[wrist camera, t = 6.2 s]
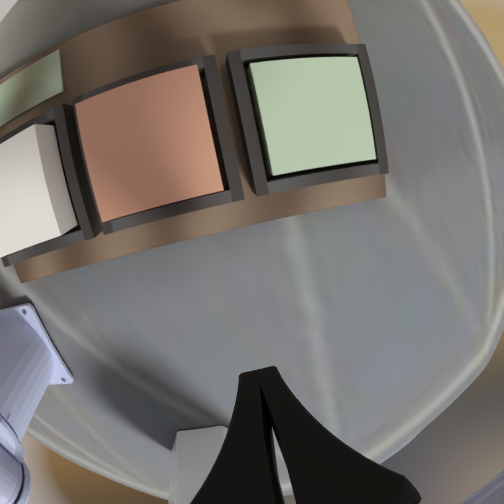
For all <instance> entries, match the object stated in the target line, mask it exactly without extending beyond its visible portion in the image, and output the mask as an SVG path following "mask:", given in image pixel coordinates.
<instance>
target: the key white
mask: <svg viewBox="0 0 504 504" xmlns="http://www.w3.org/2000/svg"><path fill="white" fill-rule="evenodd" d="M76 225H78V224H77V221H76V218H75V215H74V211H73V208H72V204H71V201H70V197H69V193H68V189H67V186H66V182H65V178H64V173H63V169H62V165H61V160H60V155H59V151H58V146H57V140H56V135H55V129H54V126H53V125H40V124H34V125H32V126H30V127H28V128H27V129H25V130H23V131H21V132H20V133H18V134H16V135H15V136H13V137H11V138H10V139H8V140H6V141H5V142H3V143H2V144H0V258H1V257H3V256H6V255H9V254H11V253H14V252H16V251H19V250H22V249H24V248H27V247H30V246H33V245H35V244H38V243H41V242H44V241H47V240H50V239H53V238H55V237H58V236H61V235H63V234H64V233H66V232H67V231H69V230H70V229H72V228H73V227H75V226H76Z"/></svg>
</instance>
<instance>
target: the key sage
mask: <svg viewBox="0 0 504 504" xmlns="http://www.w3.org/2000/svg"><path fill="white" fill-rule="evenodd" d="M246 78H247V83H248V87H249V92H250V97H251V101H252V106H253V111H254V116H255V121H256V126H257V130H258V135H259V140H260V145H261V150H262V155H263V161H264V166H265V171H266V173H268V174H271V175H273V176H274V175H279V174H284V173H290V172H295V171H301V170H306V169H312V168H318V167H324V166H331V165H337V164H344V163H350V162H357V161H365V160H372V159H376V155H375V148H374V141H373V134H372V128H371V122H370V116H369V110H368V105H367V100H366V95H365V90H364V85H363V81H362V76H361V72H360V68H359V63H358V59H357V57H315V58H297V59H284V60H274V61H265V62H257V63H250V65H249V67H248V69H247V71H246Z"/></svg>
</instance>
